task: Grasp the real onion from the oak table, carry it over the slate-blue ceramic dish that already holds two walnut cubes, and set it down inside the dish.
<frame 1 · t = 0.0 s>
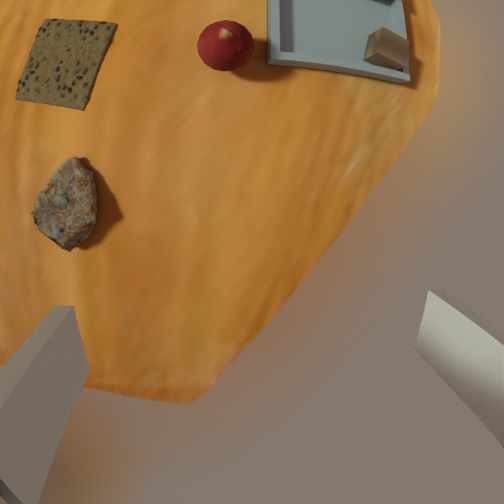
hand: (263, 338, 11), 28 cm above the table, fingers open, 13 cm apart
speckled stone tile: (63, 62, 30), on the table
rock: (71, 203, 35), on the table
walnut cube b: (379, 54, 33), point 1 cm above the table, touching dish
dish: (336, 12, 31), on the table
onion: (224, 56, 32), on the table
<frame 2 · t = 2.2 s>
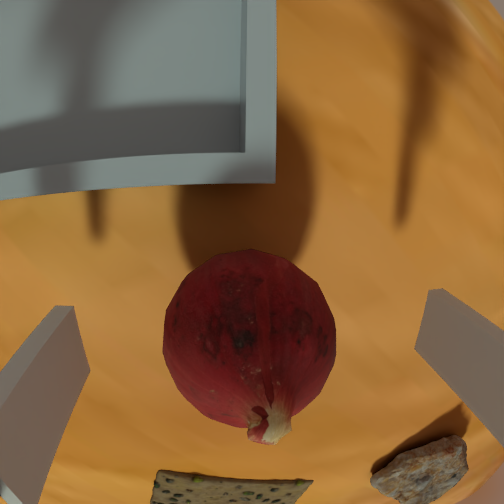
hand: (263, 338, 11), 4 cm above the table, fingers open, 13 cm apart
rock: (414, 458, 22), on the table
dish: (65, 1, 9), on the table
onion: (237, 291, 14), on the table
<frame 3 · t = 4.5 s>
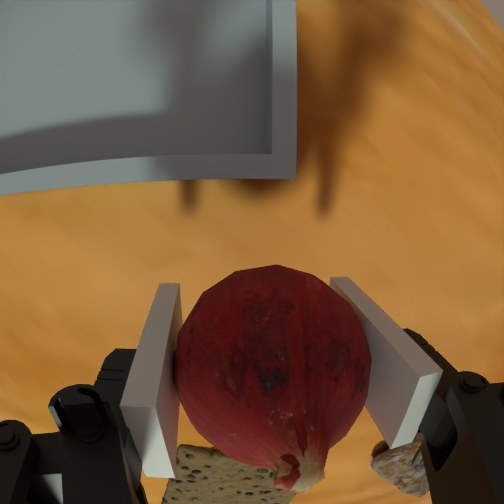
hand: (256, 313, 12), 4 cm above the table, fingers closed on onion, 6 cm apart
speckled stone tile: (235, 485, 23), on the table
rock: (414, 446, 24), on the table
dish: (107, 14, 12), on the table
onion: (255, 307, 13), point 4 cm above the table, touching gripper
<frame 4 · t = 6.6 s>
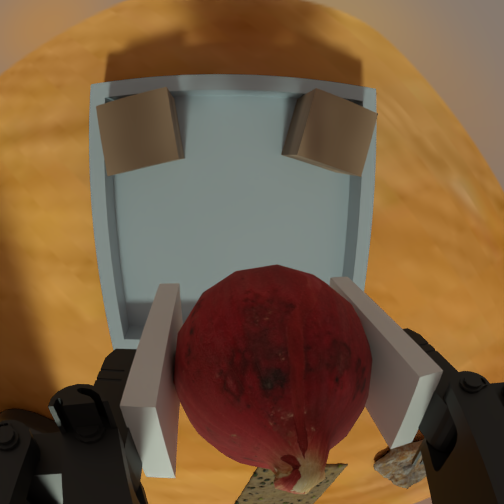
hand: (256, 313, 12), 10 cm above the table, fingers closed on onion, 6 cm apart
speckled stone tile: (287, 486, 33), on the table
rock: (402, 453, 35), on the table
walnut cube b: (317, 135, 20), point 1 cm above the table, touching dish
dish: (233, 214, 22), on the table
onion: (255, 307, 13), point 10 cm above the table, touching gripper
walnut cube a: (149, 135, 19), point 1 cm above the table, touching dish
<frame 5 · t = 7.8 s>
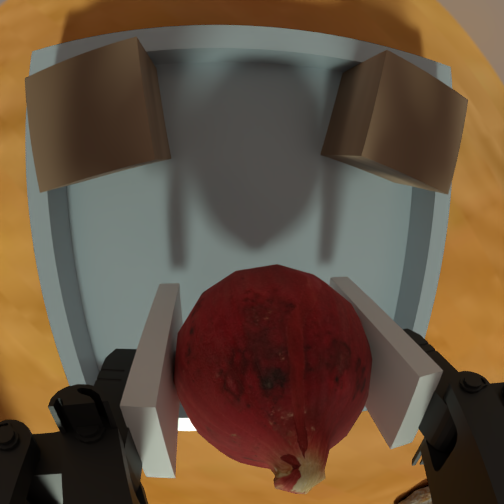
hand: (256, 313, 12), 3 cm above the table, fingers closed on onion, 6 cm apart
rock: (423, 491, 27), on the table
walnut cube b: (370, 128, 13), point 1 cm above the table, touching dish
dish: (247, 244, 15), on the table
onion: (255, 307, 13), point 2 cm above the table, touching gripper
walnut cube a: (117, 124, 12), point 1 cm above the table, touching dish
when the fingers open (2 cm above the table, at t = 8.6 s): onion drops 1 cm, resting on dish.
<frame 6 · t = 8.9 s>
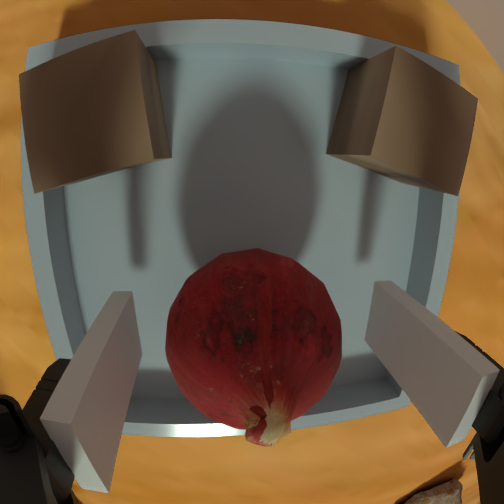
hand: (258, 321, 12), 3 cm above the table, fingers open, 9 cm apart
rock: (423, 494, 27), on the table
walnut cube b: (377, 127, 13), point 1 cm above the table, touching dish
dish: (249, 246, 14), on the table
onion: (244, 294, 14), resting on dish
walnut cube a: (115, 122, 11), point 1 cm above the table, touching dish
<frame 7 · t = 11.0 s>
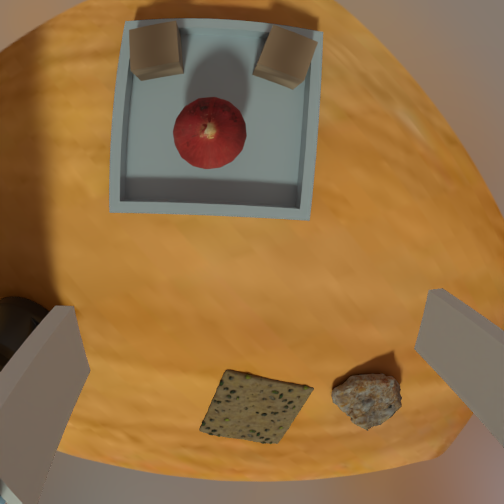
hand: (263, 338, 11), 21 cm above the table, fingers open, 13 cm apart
speckled stone tile: (254, 409, 39), on the table
rock: (363, 391, 40), on the table
walnut cube b: (279, 64, 26), point 1 cm above the table, touching dish
dish: (215, 115, 28), on the table
onion: (210, 135, 28), resting on dish
walnut cube a: (160, 58, 25), point 1 cm above the table, touching dish
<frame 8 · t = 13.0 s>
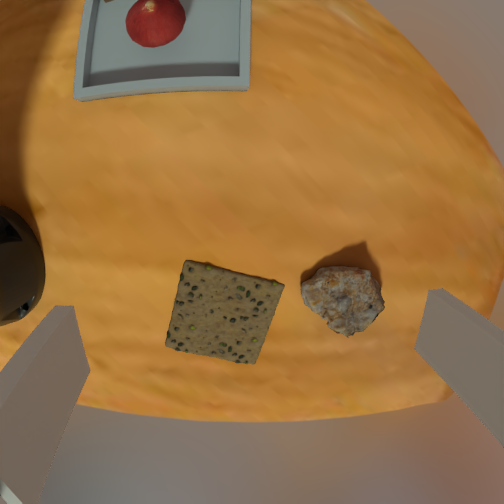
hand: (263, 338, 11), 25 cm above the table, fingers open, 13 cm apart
speckled stone tile: (222, 315, 38), on the table
rock: (339, 294, 39), on the table
dish: (165, 19, 27), on the table
onion: (160, 33, 27), resting on dish
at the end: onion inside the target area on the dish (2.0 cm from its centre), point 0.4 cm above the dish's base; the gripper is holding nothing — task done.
